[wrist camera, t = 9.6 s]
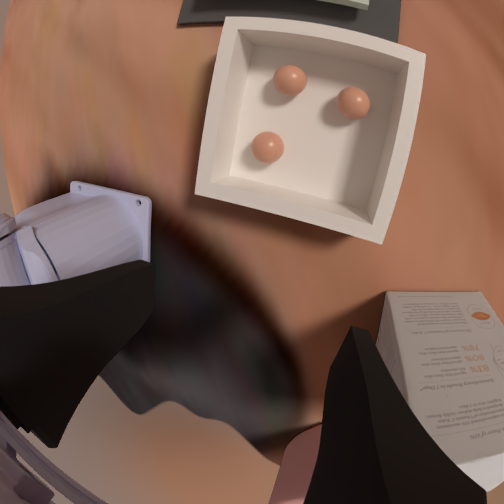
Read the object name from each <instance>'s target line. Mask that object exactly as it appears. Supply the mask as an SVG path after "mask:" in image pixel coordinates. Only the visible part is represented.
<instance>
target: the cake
mask: <svg viewBox="0 0 504 504" xmlns="http://www.w3.org/2000/svg"><path fill="white" fill-rule="evenodd" d="M321 428H322V424H320V425H318V426H315V427H313V428H311V429H308V430H306V431H304V432H302V433H300V434H299V435H297V436H296V437H295V438H294V439H293V440H292V441H291V442H290V443H289V444H288V445H287V447H286V449H285V452H284V455H283V458H282V462H281V465H280V469H279V472H278V475H277V479H276V482H275V485H274V488H273V491H272V494H271V497H270V501H269V504H303V502H304V500H305V497H306V494H307V491H308V488H309V485H310V481H311V478H312V475H313V471H314V467H315V464H316V460H317V456H318V451H319V445H320V437H321Z"/></svg>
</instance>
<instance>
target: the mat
mask: <svg viewBox="0 0 504 504" xmlns="http://www.w3.org/2000/svg"><path fill="white" fill-rule="evenodd" d="M400 9H401V0H369V6H368V11H367V10H363V9H359V8H355V7H350V6H346V5H341V4H336V3H331V2H325V1H318V0H184V1H183V4H182V8H181V11H180V15H179V19H178V23H177V24H179V25H187V24H204V23H224V22H225V17H264V18H277V19H288V20H296V21H304V22H311V23H317V24H323V25H328V26H333V27H338V28H343V29H348V30H352V31H356V32H360V33H364V34H368V35H371V36H375V37H378V38H382V39H385V40H388V41H391V42H394V43H397V42H398V33H399V22H400Z"/></svg>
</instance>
